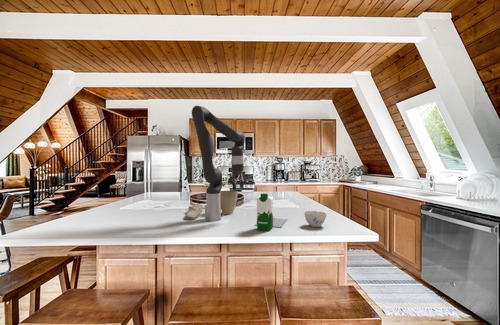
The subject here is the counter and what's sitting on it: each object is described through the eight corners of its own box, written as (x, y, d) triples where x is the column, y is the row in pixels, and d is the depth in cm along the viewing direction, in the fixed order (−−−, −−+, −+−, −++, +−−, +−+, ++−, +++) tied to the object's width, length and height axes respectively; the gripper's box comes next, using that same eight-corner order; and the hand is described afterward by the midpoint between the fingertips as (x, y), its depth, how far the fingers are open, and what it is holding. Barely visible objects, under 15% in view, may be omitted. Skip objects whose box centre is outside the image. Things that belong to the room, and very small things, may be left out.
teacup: (328, 229, 147) (328, 214, 147) (305, 228, 148) (305, 214, 148) (323, 222, 162) (323, 209, 162) (302, 222, 163) (302, 209, 163)
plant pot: (214, 215, 185) (215, 192, 185) (220, 211, 200) (220, 190, 200) (235, 215, 183) (235, 193, 183) (239, 211, 198) (239, 190, 198)
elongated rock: (182, 222, 169) (197, 223, 170) (182, 214, 168) (198, 215, 169) (190, 209, 204) (203, 210, 204) (190, 203, 203) (203, 203, 204)
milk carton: (255, 230, 144) (255, 194, 144) (260, 226, 153) (260, 192, 153) (270, 231, 141) (270, 194, 141) (274, 227, 150) (274, 192, 150)
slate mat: (254, 225, 155) (254, 225, 155) (263, 218, 176) (263, 217, 176) (281, 227, 150) (281, 227, 150) (287, 219, 171) (287, 219, 171)
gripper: (238, 162, 172) (239, 186, 173) (226, 163, 160) (226, 190, 161) (248, 162, 169) (249, 187, 170) (236, 164, 156) (237, 191, 157)
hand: (238, 188), depth 165 cm, fingers open, 8 cm apart
